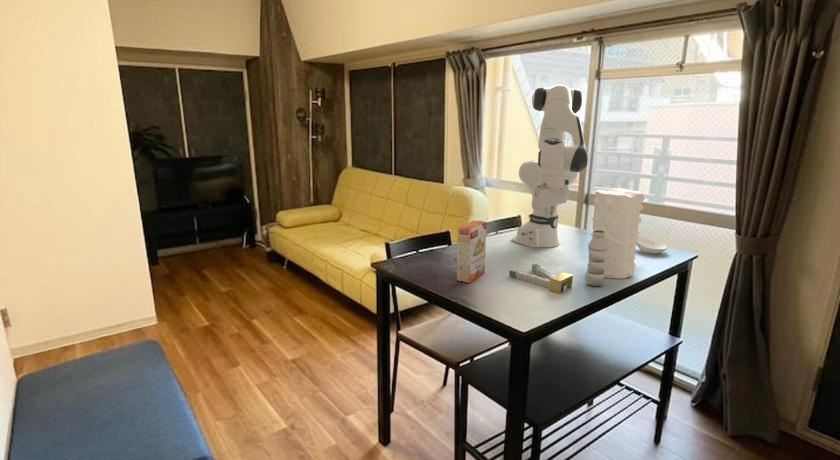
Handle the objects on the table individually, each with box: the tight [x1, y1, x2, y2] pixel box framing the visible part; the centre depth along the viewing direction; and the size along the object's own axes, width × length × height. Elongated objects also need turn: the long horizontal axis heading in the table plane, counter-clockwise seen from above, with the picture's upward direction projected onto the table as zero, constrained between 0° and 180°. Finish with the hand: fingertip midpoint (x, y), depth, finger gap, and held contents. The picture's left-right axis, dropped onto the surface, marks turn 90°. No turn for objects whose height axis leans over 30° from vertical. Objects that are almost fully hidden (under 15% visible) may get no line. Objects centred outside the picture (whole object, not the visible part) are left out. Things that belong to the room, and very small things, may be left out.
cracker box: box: [456, 220, 488, 284], centre depth 173 cm, size 14×6×21 cm, turn 148°
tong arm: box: [531, 263, 555, 280], centre depth 173 cm, size 16×2×3 cm, turn 13°
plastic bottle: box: [584, 230, 608, 287], centre depth 163 cm, size 6×7×20 cm
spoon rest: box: [636, 234, 668, 255], centre depth 205 cm, size 24×12×7 cm, turn 44°
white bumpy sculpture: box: [586, 187, 645, 279], centre depth 174 cm, size 17×16×32 cm
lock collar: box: [549, 271, 574, 294], centre depth 162 cm, size 4×8×5 cm, turn 133°
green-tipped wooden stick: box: [508, 268, 568, 294], centre depth 168 cm, size 23×4×3 cm, turn 43°
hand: (549, 217), depth 178 cm, fingers closed
